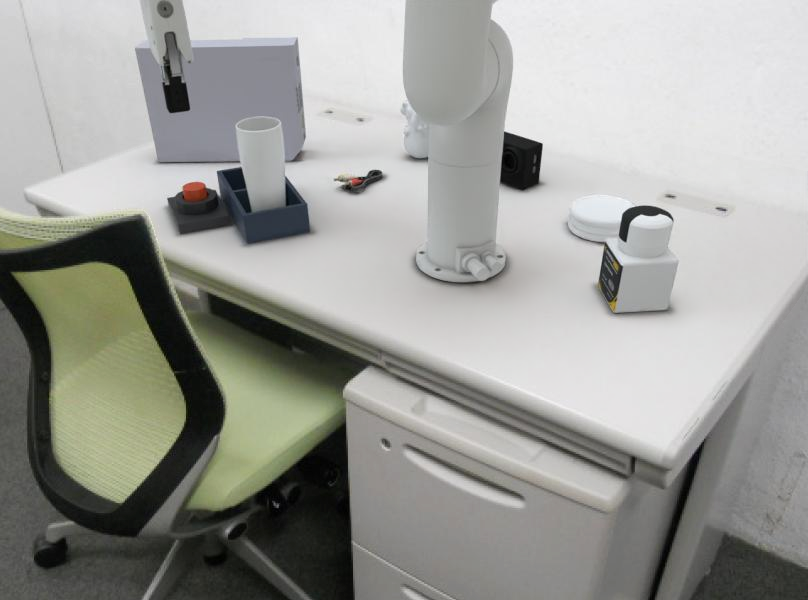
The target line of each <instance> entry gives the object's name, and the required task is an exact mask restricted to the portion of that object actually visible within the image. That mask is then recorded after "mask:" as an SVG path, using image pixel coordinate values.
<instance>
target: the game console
mask: <svg viewBox="0 0 808 600" xmlns="http://www.w3.org/2000/svg"><path fill="white" fill-rule="evenodd" d="M190 42H191V47H192V52H193V58H194V60H193V62H192V63H189V62H188V61H186V60H185V59H184V58H183V56H182V55H181V58H182V64H183V72H184V79H185V82H186V86H187V92H188V98H189V104H190V110H189V111H185V112H177V113H169V111H168V110H167V107H166V101H165V96H164V91H163V85H162V82H165V81H163V79H162V74H161V69H160V64H158V62H157V61H156V59H155V57H154V56H153V54H152V51H151V48H150V45H149V41H148V39H146V40H143V41H141V42H140V43H139V44H137V45H136V46H135V47H134V51H135V56H136V60H137V65H138V71H139V75H140V81H141V86H142V91H143V94H144V99H145V105H146V109H147V110H146V111H147V115H148V118H149V124H150V128H151V133H152V134H151V135H152V138H153V139H152V140H153V143H154V147H155V148H154V149H155V153H156V158H157V162H158V163H194V162H195V163H197V162H199V163H202V162H203V163H205V162H211V163H212V162H240V157H239V152H238V146H237V138H236V128H235V126H236V124H237V123H238V122H239V121H241V120H243V119H247V118H251V117H260V116H265V117H273V118H277V119H279V120H280V121H281V125H282V131H283V138H284V149H285V162H287V161H289V162H293V161H294V159H295V158H296V157H297V155H299V153H300V152H301V151H302V149H303V148H304V145H305V141H306V138H307V131H306V120H305V119H306V118H305V108H304V95H303V83H302V72H301V71H302V70H301V60H300V49H299V47H300V46H299V37H298V36H293V37H243V38H241V39H239V38H238V39H236V38H235V39H190Z"/></svg>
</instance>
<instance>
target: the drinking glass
mask: <svg viewBox="0 0 808 600" xmlns="http://www.w3.org/2000/svg"><path fill="white" fill-rule="evenodd" d="M235 128H236V138H237V146H238V152H239V157H240V161H239V162H240V167H242V171H243V175H244V179H245V184H246V188H247V192H248V197H249V201H250V206H251V212H257V211H262V210H268V209H274V208H279V207H285V206H286V190H285V176H286V161H285V149H284V138H283V131H282V125H281V121H280V120H279V119H277V118H273V117H265V116H260V117H251V118H247V119H243V120H241V121H239V122H238V123H237V124H236V126H235Z"/></svg>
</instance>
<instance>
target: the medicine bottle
mask: <svg viewBox="0 0 808 600" xmlns="http://www.w3.org/2000/svg"><path fill="white" fill-rule="evenodd" d="M673 225H674V217H673V215H672V214H671V213H670V212H669V211H668V210H665V209H663V208H661V207H658V206H654V205H646V204H645V205H644V204H643V205H635V207H631V208H629V209H627V210H626V211H625V212H624V213H623V214H622V218H621V224H620V230H619V235H618V238H607V239H606V240H605V242H604V246H603V252H602V258H601V262H600V263H601V264H600V269H599V275H598V282H597V288H598V289H599V290H600V292H601V294H602V296H603V297H604V299H605V301H606V303H607V304H608V306H609V307H610V310H611V311H612V312H613V313H614V314H620V313H623V314H624V313H639V312H655V311H667V310H668V308H669V305H670V300H671V297H672V292H673V288H674V283H675V281H676V275H677V271H678V268H679V259H678V258H677V257H676V256H675V254H674V253H673V252H672V250H671V249H670V248H669V244H670V239H671V234H672V229H673Z"/></svg>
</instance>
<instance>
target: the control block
mask: <svg viewBox="0 0 808 600" xmlns="http://www.w3.org/2000/svg"><path fill="white" fill-rule="evenodd" d="M206 191H207V198H205V199H203V200H199V201H187V200H185V199H184V194H183V190H182V191H181V190H180V191H179V192H177V193H176V195H174V196H171V197H167V198H166V199H167V204H168V205H167V206H168V208H169V211H170V214H171V216H172V218H173V220H174V223H175V225H176V228H177V230H178V232H179V235H184V234H185V235H186V234H190V233H195V232H200V231H201V232H202V231H206V230H212V229H218V228H223V227H228V226H231V225H232V223H231V222H232V221H231V215H230V213H229V211H228V209H227V207H226V206H225V204H224V202H223V200H222V198H221V196H219V193H218V192H217V190H216V189H212V188H209V187H206Z"/></svg>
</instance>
